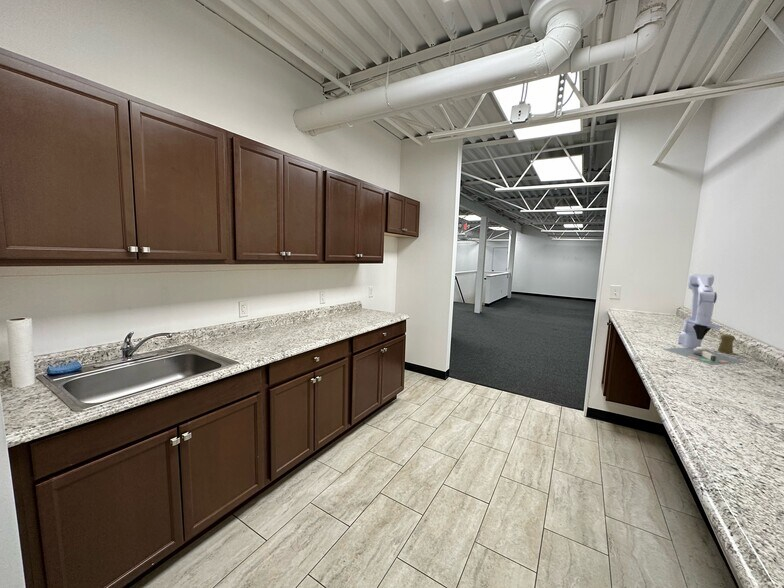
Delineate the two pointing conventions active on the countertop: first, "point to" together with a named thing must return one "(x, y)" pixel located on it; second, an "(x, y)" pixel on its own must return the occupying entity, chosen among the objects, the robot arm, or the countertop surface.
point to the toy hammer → (704, 353)
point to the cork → (726, 344)
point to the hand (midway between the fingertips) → (699, 339)
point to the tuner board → (719, 358)
